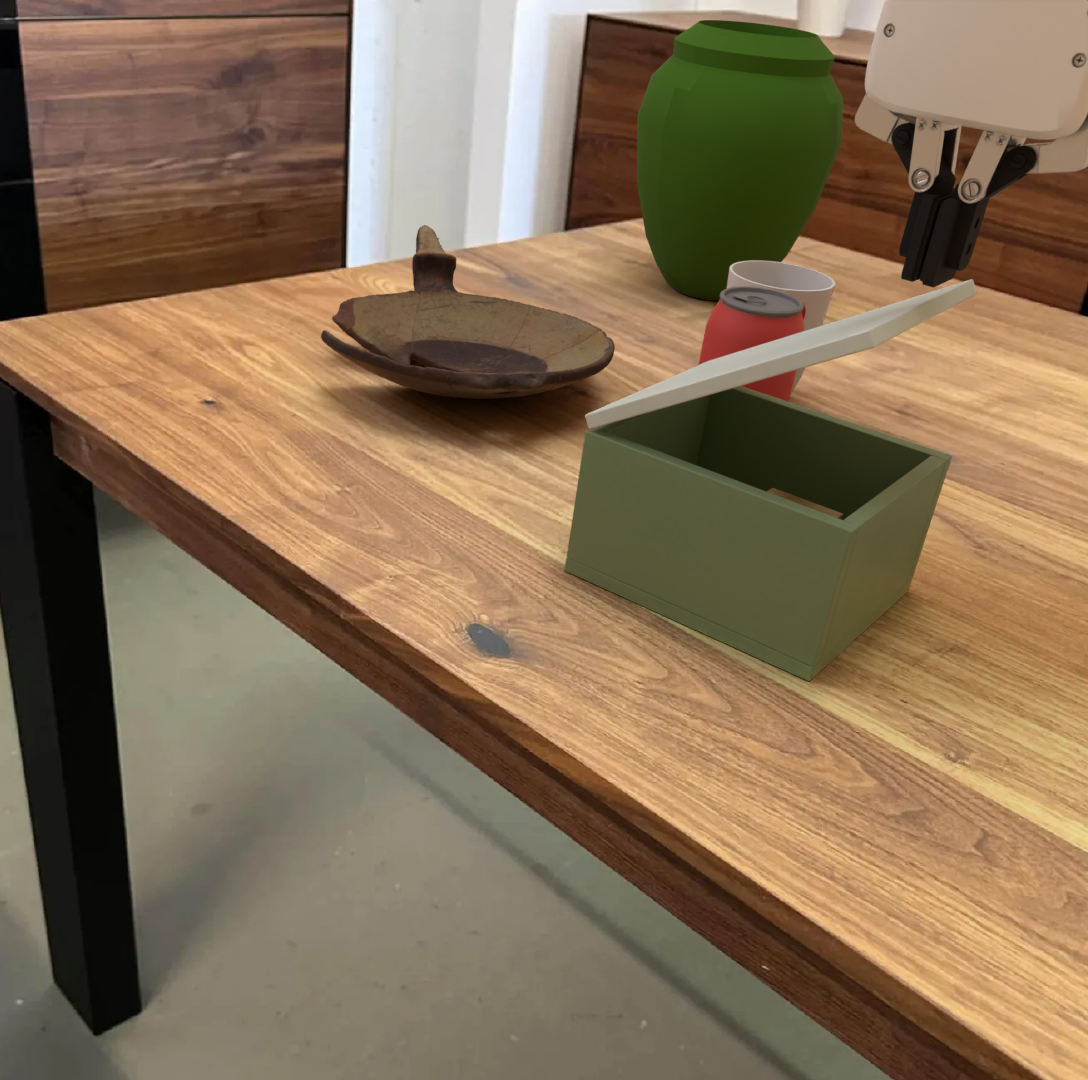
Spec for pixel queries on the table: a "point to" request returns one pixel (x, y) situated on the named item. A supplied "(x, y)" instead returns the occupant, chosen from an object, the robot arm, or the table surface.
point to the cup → (788, 288)
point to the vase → (734, 148)
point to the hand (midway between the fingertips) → (927, 278)
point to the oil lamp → (465, 337)
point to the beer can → (753, 329)
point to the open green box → (754, 522)
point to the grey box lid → (786, 354)
